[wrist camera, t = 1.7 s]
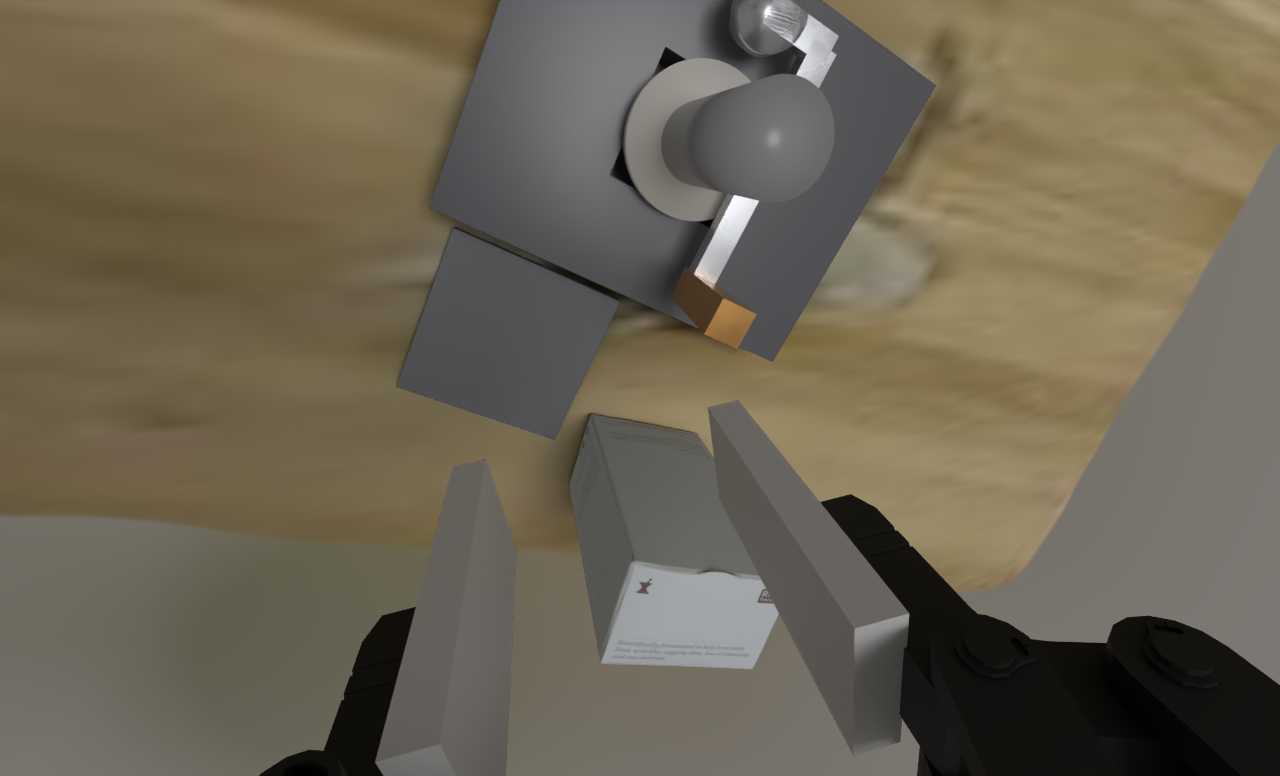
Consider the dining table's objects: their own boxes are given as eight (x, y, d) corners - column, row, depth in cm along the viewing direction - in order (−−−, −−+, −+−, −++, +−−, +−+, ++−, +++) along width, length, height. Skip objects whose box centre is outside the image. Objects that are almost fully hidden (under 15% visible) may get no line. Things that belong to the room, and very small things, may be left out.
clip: (608, 268, 26) (628, 300, 20) (753, -45, 22) (824, -109, 16) (697, 309, 27) (737, 349, 22) (847, 25, 23) (940, -13, 18)
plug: (591, 176, 29) (633, 195, 16) (647, 45, 27) (743, -46, 14) (698, 231, 31) (807, 285, 19) (756, 114, 29) (923, 87, 17)
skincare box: (568, 482, 37) (585, 670, 24) (590, 406, 35) (624, 564, 22) (679, 500, 40) (752, 681, 26) (707, 429, 37) (802, 586, 24)
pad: (398, 382, 32) (396, 386, 32) (454, 226, 29) (453, 227, 29) (554, 435, 36) (554, 439, 35) (618, 299, 33) (620, 301, 32)
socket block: (442, 200, 29) (421, 212, 23) (561, -141, 24) (568, -222, 19) (748, 340, 35) (786, 374, 30) (888, 93, 30) (963, 81, 25)
